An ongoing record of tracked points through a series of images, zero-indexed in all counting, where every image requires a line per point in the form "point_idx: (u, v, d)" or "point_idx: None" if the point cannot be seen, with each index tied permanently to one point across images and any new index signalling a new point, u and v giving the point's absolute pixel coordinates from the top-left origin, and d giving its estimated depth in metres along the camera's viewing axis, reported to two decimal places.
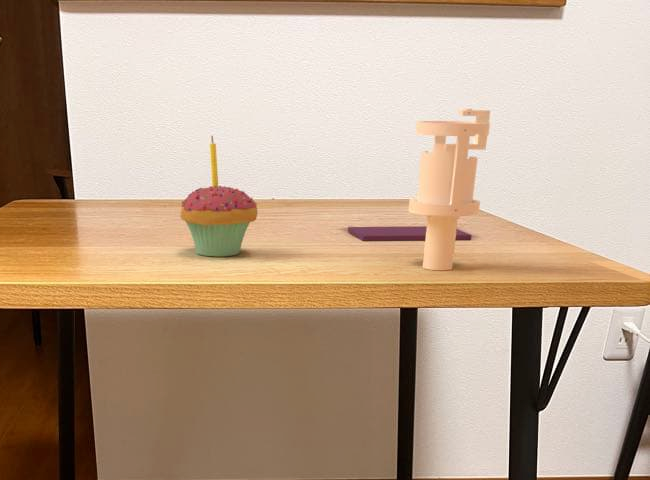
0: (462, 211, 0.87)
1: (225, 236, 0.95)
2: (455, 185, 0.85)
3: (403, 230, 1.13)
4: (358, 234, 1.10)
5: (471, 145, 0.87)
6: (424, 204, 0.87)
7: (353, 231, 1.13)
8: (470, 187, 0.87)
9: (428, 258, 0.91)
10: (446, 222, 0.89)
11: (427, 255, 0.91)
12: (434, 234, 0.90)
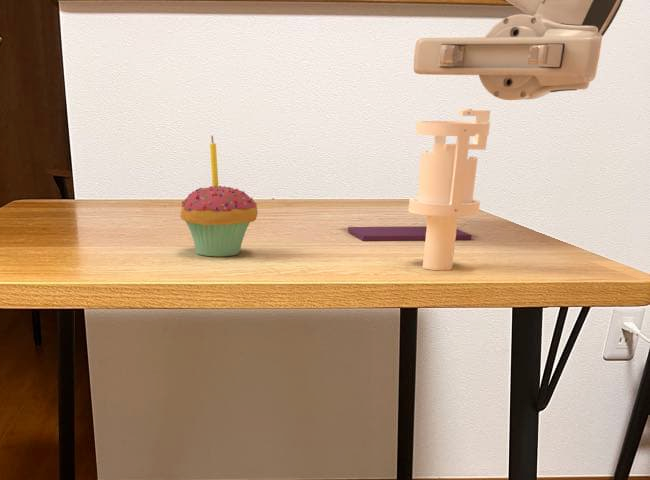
0: (462, 211, 0.87)
1: (225, 236, 0.95)
2: (455, 185, 0.85)
3: (403, 230, 1.13)
4: (358, 234, 1.10)
5: (471, 145, 0.87)
6: (424, 204, 0.87)
7: (353, 231, 1.13)
8: (470, 187, 0.87)
9: (428, 258, 0.91)
10: (446, 222, 0.89)
11: (427, 255, 0.91)
12: (434, 234, 0.90)
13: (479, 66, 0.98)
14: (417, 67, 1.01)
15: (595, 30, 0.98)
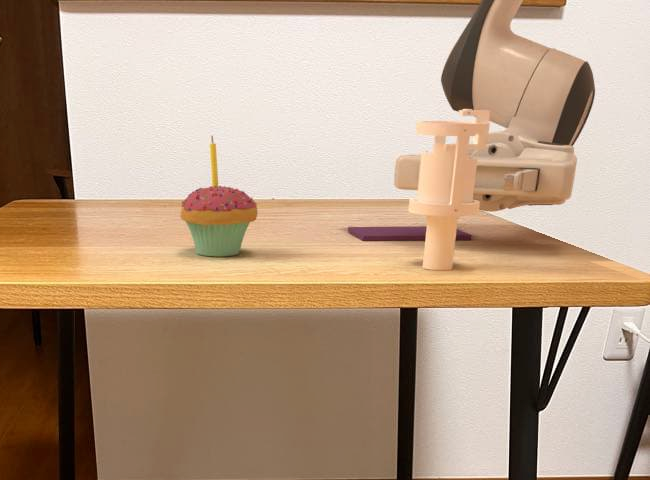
0: (462, 211, 0.87)
1: (225, 236, 0.95)
2: (455, 185, 0.85)
3: (403, 230, 1.13)
4: (358, 234, 1.10)
5: (471, 145, 0.87)
6: (424, 204, 0.87)
7: (353, 231, 1.13)
8: (470, 187, 0.87)
9: (428, 258, 0.91)
10: (446, 222, 0.89)
11: (427, 255, 0.91)
12: (434, 234, 0.90)
13: None
14: (397, 184, 1.03)
15: (571, 150, 1.00)
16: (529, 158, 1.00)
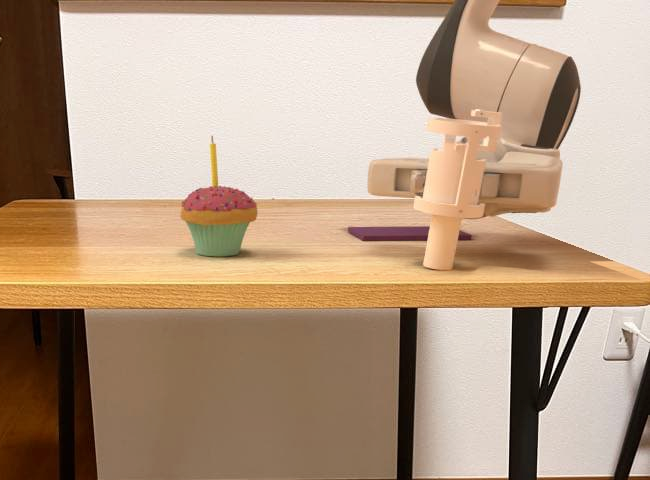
0: (467, 213, 0.86)
1: (225, 236, 0.95)
2: (462, 186, 0.85)
3: (403, 230, 1.13)
4: (358, 234, 1.10)
5: (481, 146, 0.86)
6: (429, 203, 0.87)
7: (353, 231, 1.13)
8: (477, 189, 0.87)
9: (429, 256, 0.91)
10: (450, 222, 0.89)
11: (428, 253, 0.91)
12: (437, 233, 0.89)
13: None
14: (370, 190, 0.96)
15: (556, 154, 0.93)
16: (511, 162, 0.93)
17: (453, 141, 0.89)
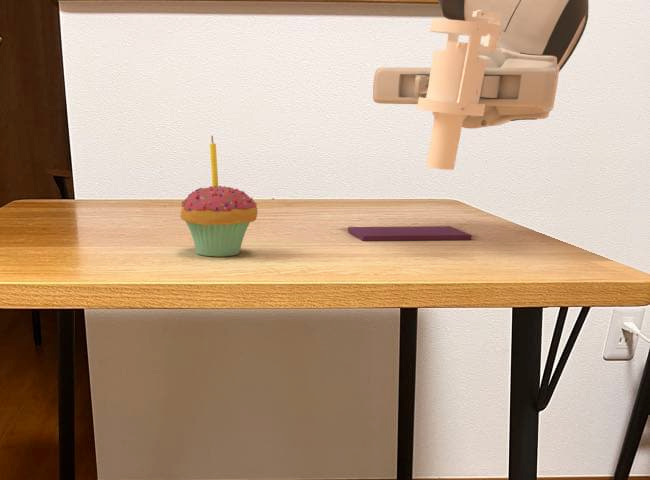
0: (468, 110, 0.91)
1: (225, 236, 0.95)
2: (464, 83, 0.89)
3: (403, 230, 1.13)
4: (358, 234, 1.10)
5: (482, 47, 0.91)
6: (433, 101, 0.91)
7: (353, 231, 1.13)
8: (477, 88, 0.91)
9: (432, 156, 0.95)
10: (452, 121, 0.93)
11: (431, 153, 0.95)
12: (440, 132, 0.94)
13: None
14: (375, 97, 1.00)
15: (554, 60, 0.97)
16: None
17: None
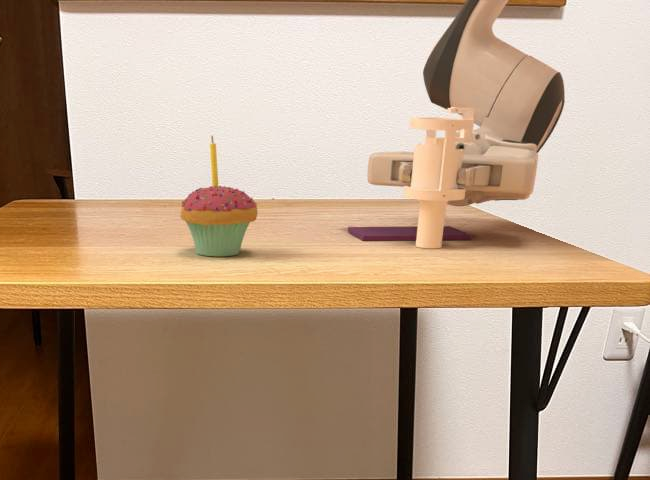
0: (450, 196, 0.99)
1: (225, 236, 0.95)
2: (444, 173, 0.98)
3: (403, 230, 1.13)
4: (358, 234, 1.10)
5: (458, 138, 0.99)
6: (417, 190, 1.00)
7: (353, 231, 1.13)
8: (457, 175, 1.00)
9: (420, 238, 1.04)
10: (436, 206, 1.02)
11: (419, 235, 1.04)
12: (426, 216, 1.02)
13: None
14: (370, 179, 1.09)
15: (533, 148, 1.06)
16: (494, 155, 1.06)
17: (434, 136, 1.02)
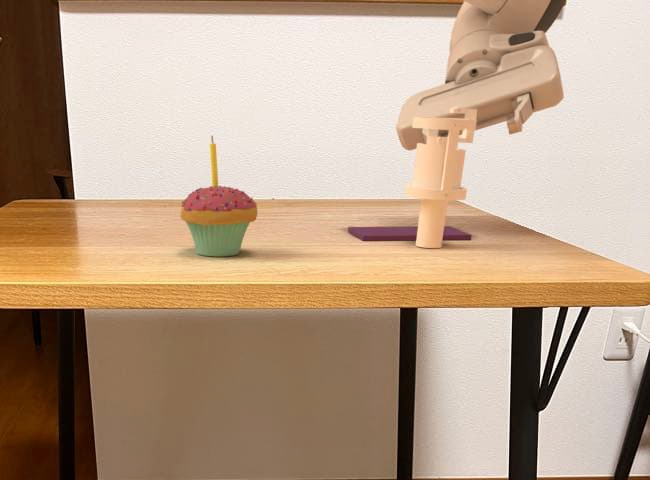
0: (451, 196, 0.99)
1: (225, 236, 0.95)
2: (446, 173, 0.98)
3: (403, 230, 1.13)
4: (358, 234, 1.10)
5: (460, 139, 1.00)
6: (418, 189, 1.00)
7: (353, 231, 1.13)
8: (459, 175, 1.00)
9: (421, 237, 1.04)
10: (437, 205, 1.02)
11: (420, 234, 1.04)
12: (427, 216, 1.02)
13: None
14: (406, 148, 1.14)
15: (544, 39, 1.07)
16: (510, 67, 1.08)
17: (436, 136, 1.02)
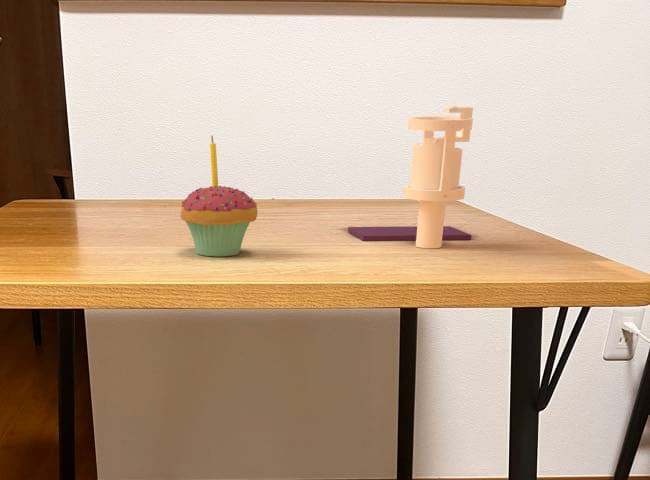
0: (450, 196, 0.99)
1: (225, 236, 0.95)
2: (444, 174, 0.98)
3: (403, 230, 1.13)
4: (358, 234, 1.10)
5: (457, 138, 0.99)
6: (417, 191, 1.00)
7: (353, 231, 1.13)
8: (456, 175, 1.00)
9: (420, 238, 1.04)
10: (436, 206, 1.02)
11: (420, 235, 1.04)
12: (426, 216, 1.02)
13: None
14: None
15: None
16: None
17: (432, 136, 1.02)
